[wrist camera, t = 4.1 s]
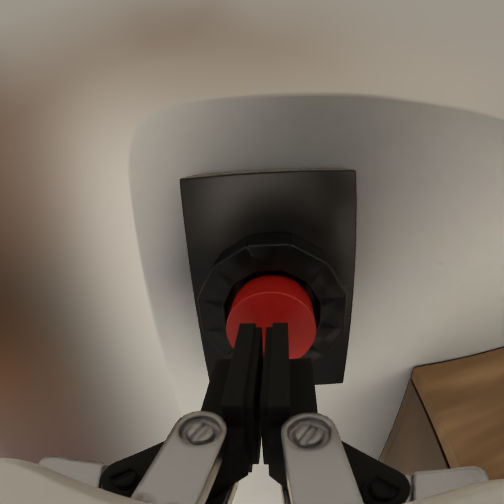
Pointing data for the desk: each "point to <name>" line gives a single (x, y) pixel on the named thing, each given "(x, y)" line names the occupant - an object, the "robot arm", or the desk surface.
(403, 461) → the cupboard
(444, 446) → the cupboard door
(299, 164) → the desk surface
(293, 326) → the button
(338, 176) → the button block
